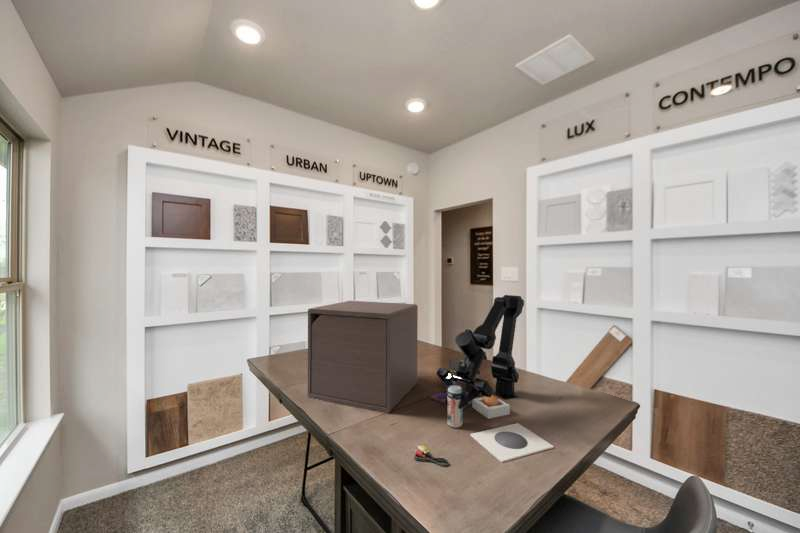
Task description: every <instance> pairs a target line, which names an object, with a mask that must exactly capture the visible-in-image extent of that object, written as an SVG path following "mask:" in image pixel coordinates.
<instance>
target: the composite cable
mask: <svg viewBox="0 0 800 533" xmlns="http://www.w3.org/2000/svg"><path fill="white" fill-rule="evenodd" d="M415 447H416V448H417V449H412V452H414V457H413V459H414V460H415V461H418V462H427V463H431V464H435V465H436V466H440V467H442V468H443V467H448V466H449V463H450V462H449V460H447V459H445V458H443V457H433V456H432V455H431V453H430V451H429V450H428V448H427V447H426V446H424V445H422V444H419V445H418V444H415Z"/></svg>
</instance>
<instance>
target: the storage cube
mask: <svg viewBox="0 0 800 533" xmlns="http://www.w3.org/2000/svg"><path fill="white" fill-rule="evenodd" d="M418 307H419V306H418V305H417V304H415V303H397V302H382V301H381V302H380V301H363V300H362V301H360V300H348V301H346V300H345V301H342V302H337V303H331V304H326V305H322V306H316V307H315V306H314V307H312V308H308V309H307V393H306V394H307V397H308V399H311V398H313V399H312V400H316V399H318V400H317V401H321V400H322V402H326V403H332V404H337V405H341V406H342V405H343V406H347V407H352V408H357V409H362V410H368V411H373V412H377V413H384V414H390V412H392V410H393V409H395V407H397V405H398V404H399V403H400V402H401V401H402V400H403V398H405V397H406V395H408V393H409V392H411V390H412V389H413V388H414V387H415V386H416V385H417V384H418V320H419V319H418V314H419V313H418V309H419V308H418Z"/></svg>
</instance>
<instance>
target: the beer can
mask: <svg viewBox="0 0 800 533" xmlns="http://www.w3.org/2000/svg"><path fill="white" fill-rule="evenodd" d="M463 394H464V390H463V389H462V387H461V385H457V384H455V385H451V386H449V388H448V392H447V405H446V406H447V412H446V413H447V415H446V417H447V418H446V419H447V422H446V423H447V425H448V426H449V427H451V428H453V429H456V428H457V429H458V428H461V427H462V426H463V424H464V423H463V421H464V419H463V417H464V416H463V415H464V414H463V413H464V412H463V411H464V410H463V408H461V409H459V408H458V406H459V403H460V401H461V399H462V397H463Z"/></svg>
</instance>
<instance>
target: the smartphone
mask: <svg viewBox="0 0 800 533" xmlns="http://www.w3.org/2000/svg"><path fill="white" fill-rule="evenodd" d="M445 395H446V392H442V391H439V392H436V393H434V394H432V395H430V396H429V399H430V400H432V399H433V401H435V402H437V401H438V403H440V402H441V404H444V405H446V406H447V404H446V403H445ZM470 406H472V400H471V401H470V402H469V403H467V404H466V405H465V406H464V407H463V411H465V410H466V409H467V408H469V407H470Z"/></svg>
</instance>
